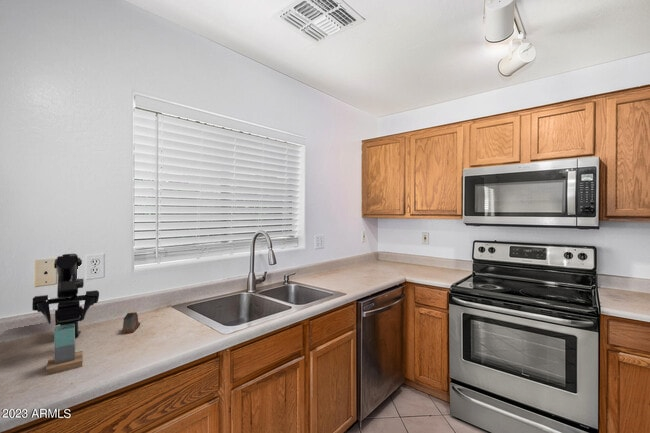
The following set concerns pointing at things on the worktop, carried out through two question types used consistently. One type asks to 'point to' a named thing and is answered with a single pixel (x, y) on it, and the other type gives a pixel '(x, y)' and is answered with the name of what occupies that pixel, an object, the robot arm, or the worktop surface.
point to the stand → (64, 364)
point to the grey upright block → (130, 322)
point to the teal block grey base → (64, 343)
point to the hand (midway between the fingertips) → (66, 320)
